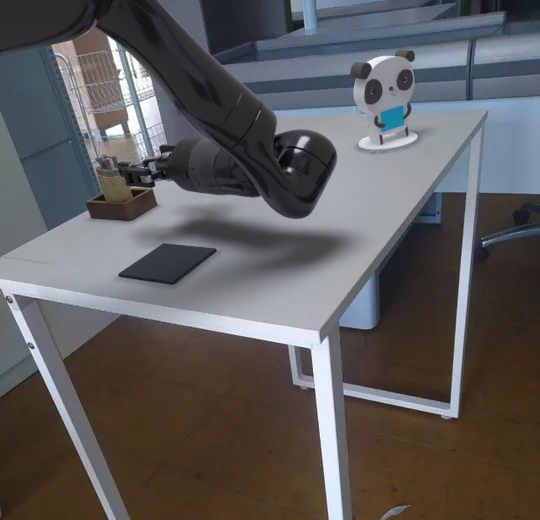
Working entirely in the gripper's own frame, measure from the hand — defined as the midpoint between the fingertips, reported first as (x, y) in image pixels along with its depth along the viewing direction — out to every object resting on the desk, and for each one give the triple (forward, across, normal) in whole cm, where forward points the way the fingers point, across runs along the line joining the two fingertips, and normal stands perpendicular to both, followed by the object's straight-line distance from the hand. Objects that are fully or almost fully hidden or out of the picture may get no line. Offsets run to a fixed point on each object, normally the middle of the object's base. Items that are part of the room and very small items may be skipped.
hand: (141, 160), depth 87 cm
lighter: (+10, 0, +10) cm, 14 cm away
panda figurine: (-17, -44, +10) cm, 49 cm away
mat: (-16, +12, +10) cm, 22 cm away
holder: (+10, 0, +10) cm, 14 cm away
